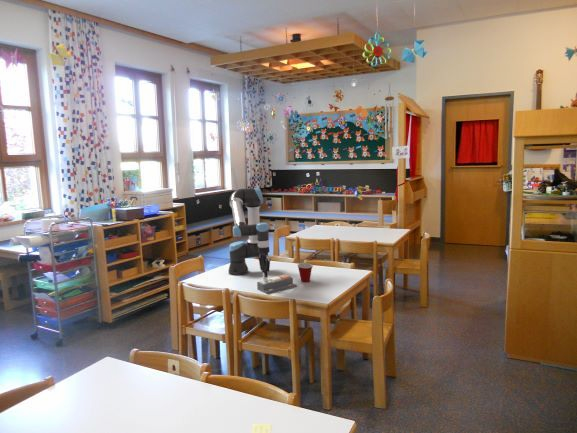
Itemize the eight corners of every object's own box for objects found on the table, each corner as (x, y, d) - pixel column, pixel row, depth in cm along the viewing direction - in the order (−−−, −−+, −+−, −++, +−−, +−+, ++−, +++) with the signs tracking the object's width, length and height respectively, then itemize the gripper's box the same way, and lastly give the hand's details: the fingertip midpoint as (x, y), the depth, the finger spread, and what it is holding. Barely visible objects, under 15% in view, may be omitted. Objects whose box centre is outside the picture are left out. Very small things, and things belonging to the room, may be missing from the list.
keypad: (257, 289, 292) (257, 282, 291) (286, 282, 304) (286, 275, 303) (267, 294, 281) (266, 286, 281) (296, 286, 294) (296, 279, 293)
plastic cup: (310, 284, 297) (309, 267, 295) (295, 283, 302) (294, 266, 300) (315, 280, 307) (315, 263, 305) (301, 278, 312) (301, 262, 310)
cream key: (269, 282, 295) (268, 278, 295) (276, 280, 298) (276, 276, 298) (273, 284, 290) (273, 279, 290) (281, 282, 293) (281, 278, 293)
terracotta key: (278, 280, 299) (278, 275, 298) (285, 278, 302) (285, 274, 302) (283, 282, 294) (282, 277, 293) (290, 280, 297) (290, 276, 297)
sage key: (259, 285, 291) (259, 281, 291) (267, 284, 294) (267, 279, 294) (264, 288, 286) (263, 283, 286) (271, 286, 289) (271, 281, 289)
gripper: (253, 245, 290) (255, 280, 293) (263, 248, 279) (265, 284, 282) (263, 244, 294) (265, 278, 297) (273, 247, 283) (275, 282, 286)
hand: (265, 281), depth 290 cm, fingers closed
